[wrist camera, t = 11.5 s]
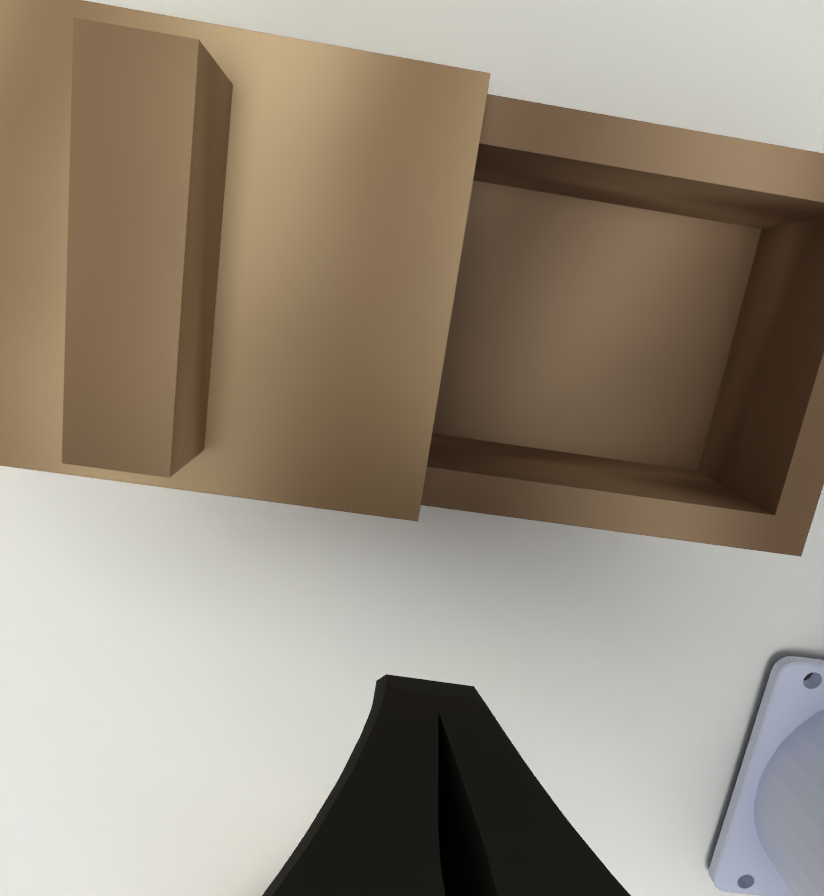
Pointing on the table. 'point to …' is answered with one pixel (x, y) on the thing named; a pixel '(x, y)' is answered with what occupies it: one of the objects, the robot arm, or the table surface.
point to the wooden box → (636, 332)
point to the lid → (226, 255)
